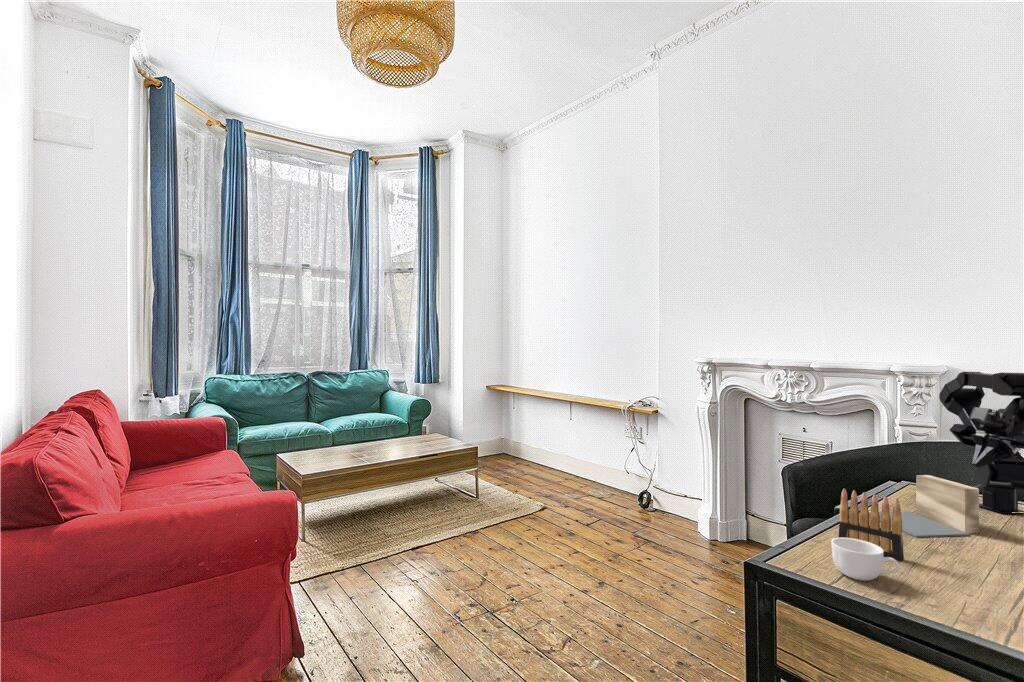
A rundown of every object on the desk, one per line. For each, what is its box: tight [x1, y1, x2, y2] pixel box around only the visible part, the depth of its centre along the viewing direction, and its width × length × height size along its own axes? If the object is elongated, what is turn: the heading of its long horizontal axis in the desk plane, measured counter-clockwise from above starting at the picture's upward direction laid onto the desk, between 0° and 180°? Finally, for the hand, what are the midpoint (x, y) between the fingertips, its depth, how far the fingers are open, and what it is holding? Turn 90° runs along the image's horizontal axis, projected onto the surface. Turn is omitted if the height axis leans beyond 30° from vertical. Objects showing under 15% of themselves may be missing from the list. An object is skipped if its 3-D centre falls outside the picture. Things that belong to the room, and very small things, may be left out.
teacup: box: [830, 537, 900, 582], centre depth 89 cm, size 10×8×5 cm
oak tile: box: [915, 474, 980, 534], centre depth 117 cm, size 4×12×10 cm, turn 5°
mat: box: [869, 511, 971, 538], centre depth 116 cm, size 13×15×1 cm
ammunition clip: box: [837, 488, 905, 563], centre depth 100 cm, size 11×2×12 cm, turn 43°
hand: (974, 465), depth 118 cm, fingers closed
